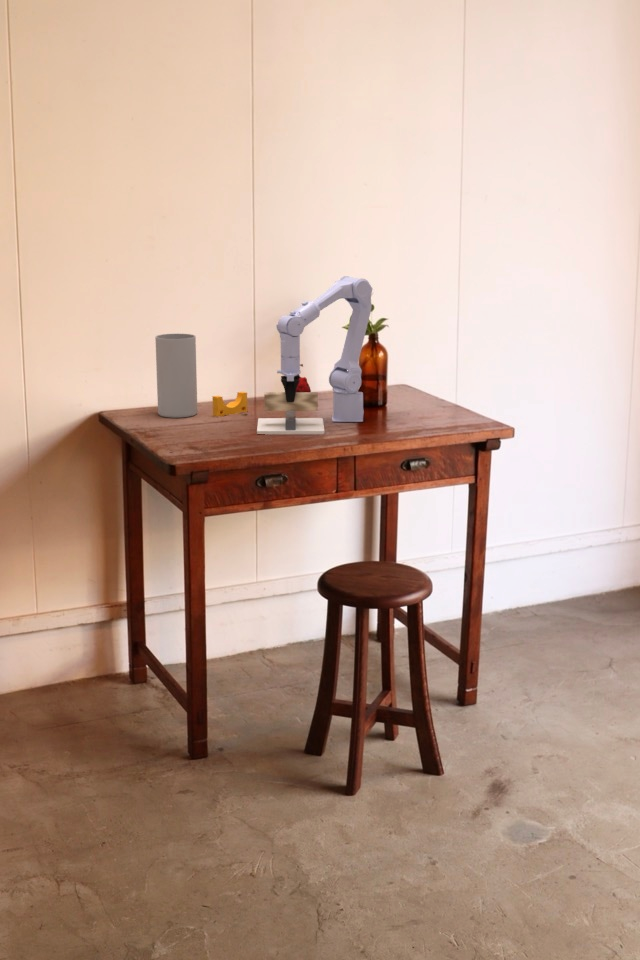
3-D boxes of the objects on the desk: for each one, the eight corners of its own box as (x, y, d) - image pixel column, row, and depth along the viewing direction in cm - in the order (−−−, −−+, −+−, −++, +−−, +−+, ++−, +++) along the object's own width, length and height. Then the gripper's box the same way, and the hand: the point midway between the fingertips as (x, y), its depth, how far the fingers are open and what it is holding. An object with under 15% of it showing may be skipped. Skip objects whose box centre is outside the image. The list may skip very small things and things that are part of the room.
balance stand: (322, 421, 360) (322, 408, 359) (324, 434, 343) (324, 421, 342) (258, 421, 360) (258, 408, 359) (256, 434, 342) (256, 421, 341)
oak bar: (317, 408, 352) (317, 392, 350) (317, 410, 348) (317, 394, 347) (264, 408, 351) (264, 392, 350) (264, 410, 348) (264, 394, 347)
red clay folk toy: (313, 401, 390) (313, 357, 386) (305, 405, 383) (305, 360, 380) (293, 400, 393) (292, 356, 389) (284, 403, 386) (284, 359, 382)
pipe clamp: (238, 410, 377) (238, 390, 375) (247, 412, 374) (247, 392, 372) (209, 415, 369) (209, 395, 367) (217, 417, 366) (217, 397, 364)
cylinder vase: (197, 409, 376) (195, 333, 370) (197, 418, 364) (195, 339, 358) (158, 410, 375) (155, 333, 368) (157, 418, 363) (155, 339, 356)
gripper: (277, 352, 352) (277, 396, 356) (276, 360, 338) (276, 405, 342) (300, 352, 353) (300, 395, 356) (300, 359, 339) (300, 405, 342)
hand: (290, 400), depth 349 cm, fingers closed on oak bar, 3 cm apart
